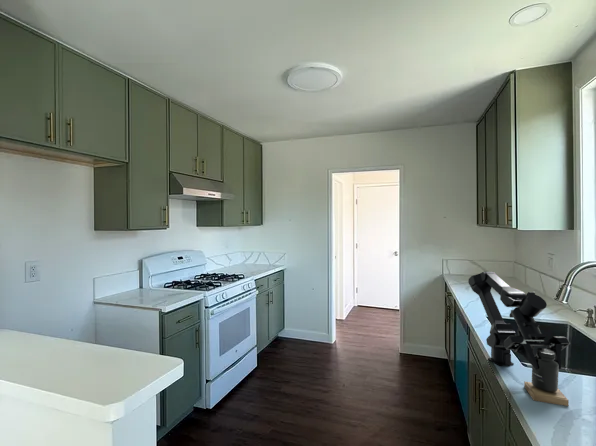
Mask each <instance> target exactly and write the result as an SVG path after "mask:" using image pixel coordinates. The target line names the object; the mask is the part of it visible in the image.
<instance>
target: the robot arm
mask: <svg viewBox="0 0 596 446" xmlns="http://www.w3.org/2000/svg"><path fill="white" fill-rule="evenodd" d="M468 285H469V286H470V288H471V290H472V292H474V293H475V294H476V295H477V296H478V297H479V300H480V302H481V304H482V306H483V309H484V311H485V313H486V316H487V318H488V321H489V323H490V330H489V335H488V337H487V338H486V345H487V346H489V347H490V350H491V352H490V357H487V360H488V361H490V362H492V363H494V364H496V365H497V366H499V367H500V366H501V367H502V366H503V367H504V366H513V365H514V364H515V363H514V362H513V361H512V354H511V351H513V352H514V353H518V354H520V355H521V356H523V357H524V358H525V359H526V361H528V362H529V364H530V365H531V367H532V366H533V367H534V368H535V369H538V365H537V362H536V359H535V356H536V355H535V354H534V349H535V347H546V349H549V350H551V351H554V352H555V359H554V360H555V361H557V363H558V364H559V371H560V370H562V351H563V350H564V349H565V348H567V347H569V346H570V345H571V342H570V341H569V339H568V338H567V337H566V336H559V335H558V336H555V335H554V336H552V337H550V338H549V339H545V338H547V336H546V334H545V333H542V332H541V330H540V328H539V327H540V326H541V324H540V323H539V322H536V320H535V318H536V317H537V316H538V315H540V314H541V313H542V312H543V311H544V310H545V309H546V308H547V301H546V300H545V299H544V298H543V297H541V296H539V295H538V294H536V293H535V291H528V292H527V293H525V292H524V291H523V290H520V289H518V288H515V287H512V286H510V285H509V284H508V283H506V282H505V281H504V280H503V279H502V278H501V277H499V275H497V273H496V272H495V271H482V272H480V273H476V274H474V275H470V277H469V278H468ZM492 289H493V290H494V291H495V292H496V293H497V294H498V295H499V296H500V298H499V300H500V301H501V302H502V304H503V305H504V306H505V307H506V308H514V309H511V310H510V313H509V318H513V319H514V322H515V324H516V326H517V329H516V331H517V334H516V331H515V330H514V327H513V325H512V324H511V323H507V322H505V321H504V319H503V316H502V314H501V312H500V309H499V307H498V304H497V303H496V301H495V299H494V296H493V294H492V292H491V291H492Z"/></svg>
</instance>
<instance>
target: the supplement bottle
mask: <svg viewBox="0 0 596 446" xmlns="http://www.w3.org/2000/svg"><path fill="white" fill-rule="evenodd" d="M534 356H535V359H536V362H537V365H538V369H535V368H534V367H533V366H532V365H531V382H532V384H533V386H534V387H536V388H538V389H540V390H542V391H546V392H556V391H557V390H558V389H559V388H558V387H559V373H560V372H559V371H560V370H559V364H558V363H557V361H555V360H554V359H555V352H554V351H551V350H549V349H547V348H543V347H538V348H536V355H534Z"/></svg>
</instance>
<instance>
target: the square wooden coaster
mask: <svg viewBox="0 0 596 446" xmlns="http://www.w3.org/2000/svg"><path fill="white" fill-rule="evenodd" d="M523 387H524V389H525V390H526V391H527V392H528V394H529V396H530V397H531V399H532V400H533V402H542V403H547V404H553V405H559V406H565V407H569V399H568V398H567V396H565V394H564V393H563V392H562V391H561V389H559V388H558V390H557V391H556V392H546V391H542V390H540V389H538V388H536V387H534V386H533V384H532V381H524V385H523Z"/></svg>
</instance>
